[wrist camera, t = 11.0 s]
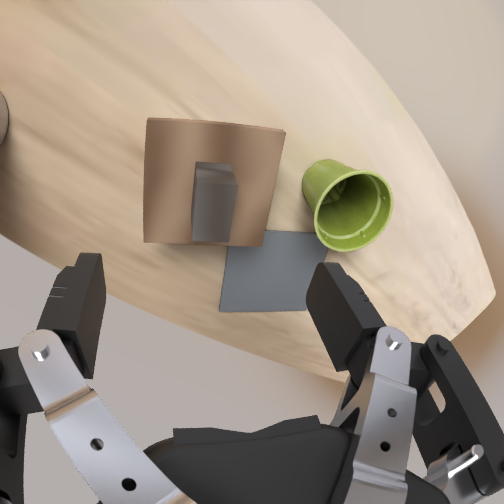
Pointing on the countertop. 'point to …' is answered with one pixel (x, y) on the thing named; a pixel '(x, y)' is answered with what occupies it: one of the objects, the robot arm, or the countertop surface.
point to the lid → (208, 181)
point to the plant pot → (347, 204)
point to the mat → (271, 273)
